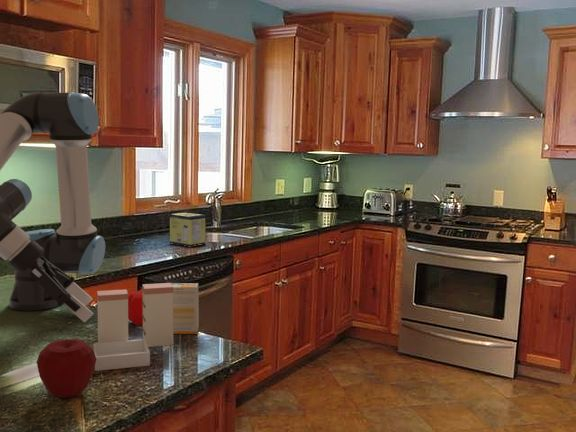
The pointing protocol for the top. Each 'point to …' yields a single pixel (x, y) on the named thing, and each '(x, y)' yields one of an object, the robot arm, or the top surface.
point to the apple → (66, 367)
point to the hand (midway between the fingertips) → (89, 310)
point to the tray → (121, 354)
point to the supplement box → (185, 308)
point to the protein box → (187, 229)
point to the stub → (112, 315)
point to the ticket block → (157, 314)
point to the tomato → (135, 307)
